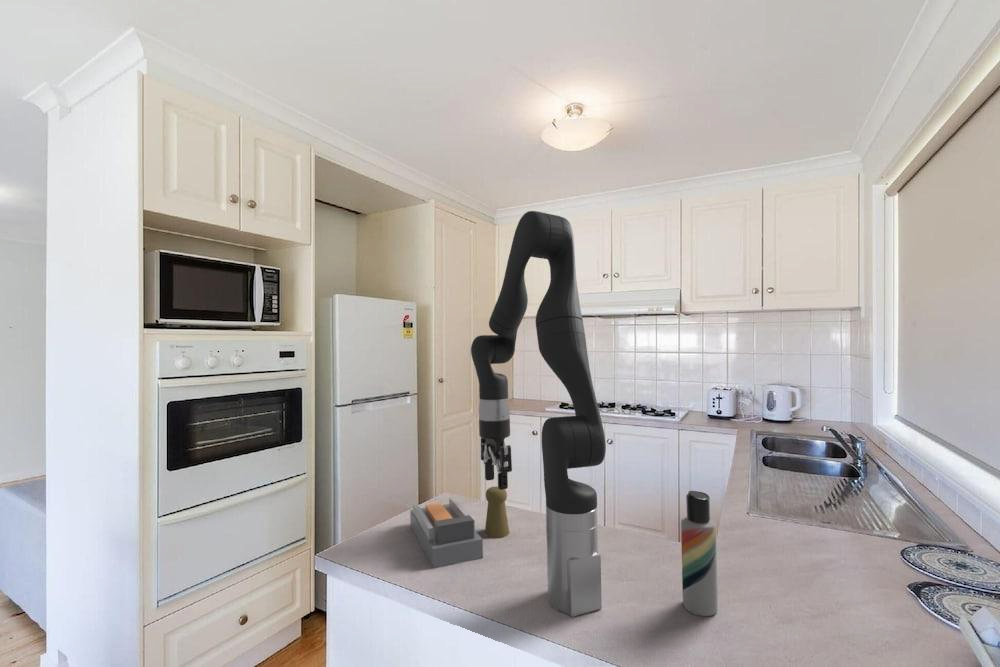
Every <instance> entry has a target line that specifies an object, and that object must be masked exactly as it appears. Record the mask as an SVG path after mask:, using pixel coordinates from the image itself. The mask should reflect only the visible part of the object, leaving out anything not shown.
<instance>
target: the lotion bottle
mask: <svg viewBox="0 0 1000 667" xmlns="http://www.w3.org/2000/svg"><path fill="white" fill-rule="evenodd" d="M685 498H686V499H685V500H686V505H685V506H686V515H685V516H683V517H681V520H680V536H681V537H680V538H681V539H680V540H681V576H682V577H681V579H682V580H681V582H682V587H681V588H682V604H683V607H684V608H685V610H687V611H688V612H690V613H691V614H695V615H697V616H701V617H710V616H714V615H715V614H717V613H718V610H719V596H718V595H719V594H718V593H719V591H718V590H719V589H718V588H719V586H718V585H719V584H718V545H717V542H718V540H717V524H716V522H715V521H714V519H712V518H711V507H710V506H711V502H710V501H711V499H710V496H709V494H707V493H706V492H702V491H697V490H689V491H688V493H687V494H686V497H685Z"/></svg>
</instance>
